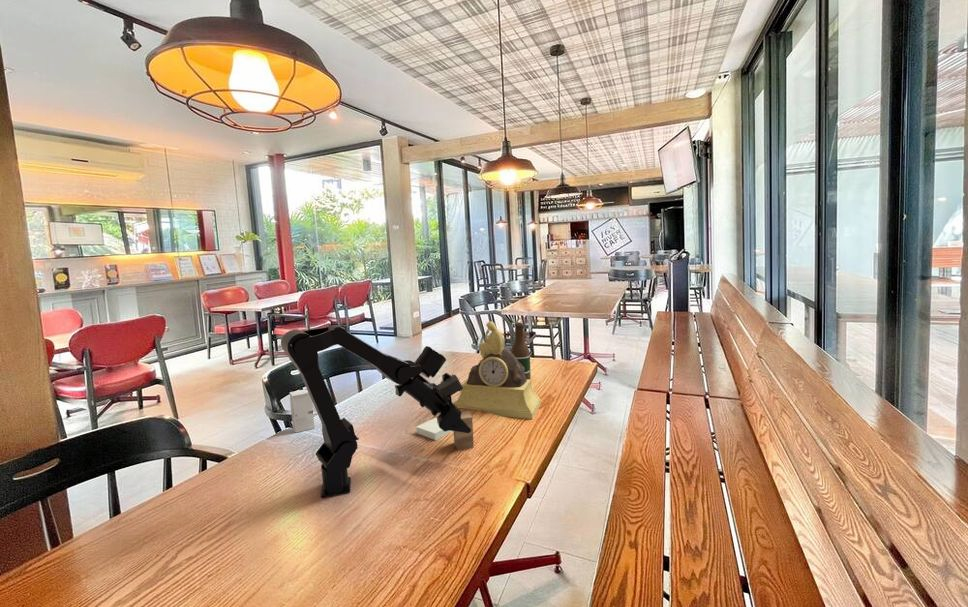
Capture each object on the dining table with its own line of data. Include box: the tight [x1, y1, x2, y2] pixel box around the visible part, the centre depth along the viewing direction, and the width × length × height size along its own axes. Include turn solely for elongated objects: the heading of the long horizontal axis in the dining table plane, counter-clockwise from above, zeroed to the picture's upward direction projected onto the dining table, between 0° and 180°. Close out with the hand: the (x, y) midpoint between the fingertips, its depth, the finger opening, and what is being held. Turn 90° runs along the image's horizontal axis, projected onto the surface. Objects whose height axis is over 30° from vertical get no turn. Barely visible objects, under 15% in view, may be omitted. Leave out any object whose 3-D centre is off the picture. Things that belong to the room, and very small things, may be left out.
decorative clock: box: [453, 320, 541, 420], centre depth 144 cm, size 28×13×30 cm, turn 71°
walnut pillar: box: [452, 410, 475, 451], centre depth 117 cm, size 4×4×10 cm
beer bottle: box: [510, 322, 531, 380], centre depth 171 cm, size 8×8×24 cm
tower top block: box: [415, 417, 453, 441], centre depth 126 cm, size 8×8×2 cm
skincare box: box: [289, 388, 315, 433], centre depth 135 cm, size 6×4×12 cm
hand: (466, 424), depth 117 cm, fingers open, 9 cm apart
